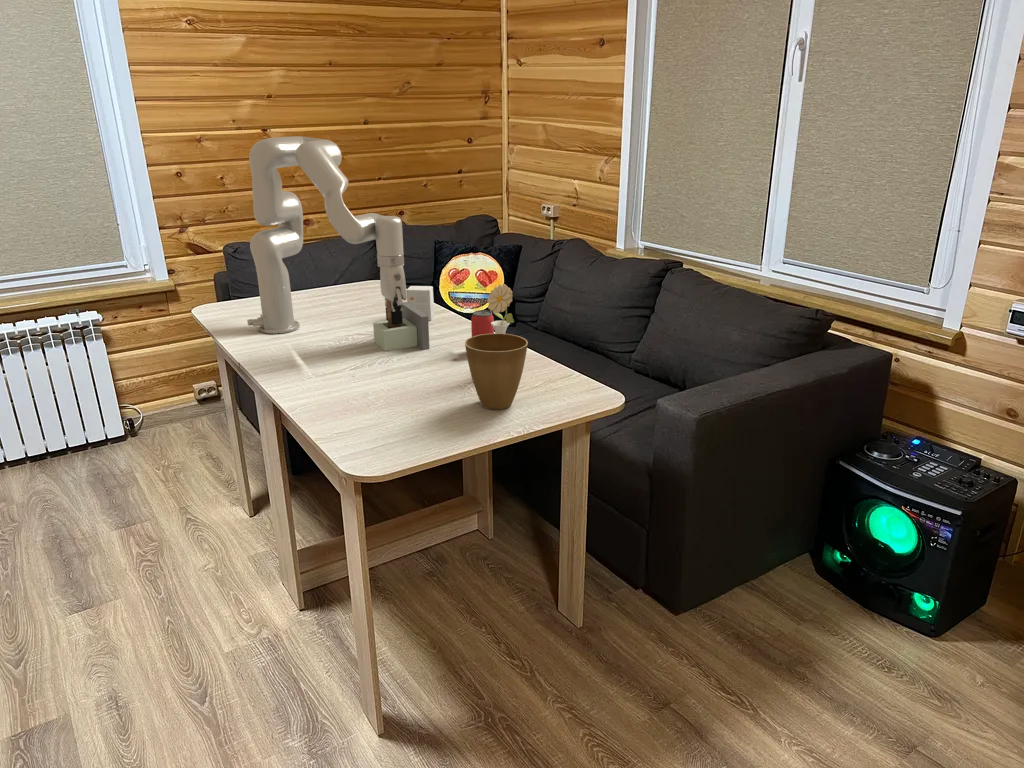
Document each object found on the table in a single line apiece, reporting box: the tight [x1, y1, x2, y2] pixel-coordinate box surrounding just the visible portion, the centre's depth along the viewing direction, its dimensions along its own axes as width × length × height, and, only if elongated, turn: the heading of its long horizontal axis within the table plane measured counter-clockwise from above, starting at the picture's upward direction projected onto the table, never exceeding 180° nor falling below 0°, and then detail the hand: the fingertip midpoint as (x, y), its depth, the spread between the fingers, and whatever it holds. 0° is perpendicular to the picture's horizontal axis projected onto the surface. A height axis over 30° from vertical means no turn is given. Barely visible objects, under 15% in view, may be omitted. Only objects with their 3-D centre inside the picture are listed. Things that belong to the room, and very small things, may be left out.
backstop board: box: [402, 301, 430, 351], centre depth 220 cm, size 22×18×11 cm
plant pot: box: [464, 332, 529, 410], centre depth 180 cm, size 15×15×16 cm
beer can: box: [470, 309, 495, 337], centre depth 217 cm, size 7×7×12 cm
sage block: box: [372, 318, 419, 352], centre depth 222 cm, size 10×10×6 cm
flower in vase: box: [487, 283, 515, 334], centre depth 199 cm, size 13×11×25 cm
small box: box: [406, 285, 435, 321], centre depth 251 cm, size 8×6×10 cm
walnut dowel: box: [386, 298, 402, 329], centre depth 220 cm, size 4×4×12 cm
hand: (394, 321), depth 221 cm, fingers closed on walnut dowel, 4 cm apart
